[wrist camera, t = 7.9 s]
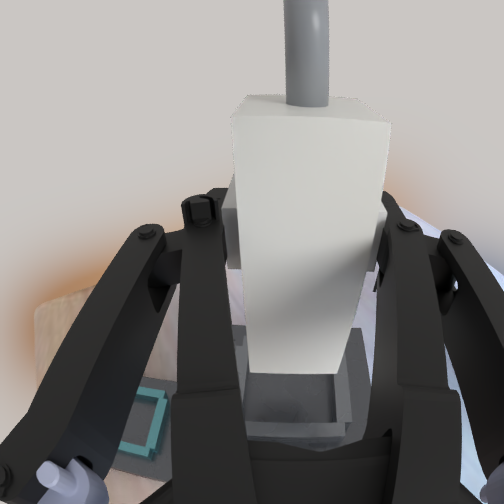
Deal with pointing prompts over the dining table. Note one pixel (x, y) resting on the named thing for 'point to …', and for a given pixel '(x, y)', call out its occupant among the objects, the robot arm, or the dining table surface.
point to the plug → (305, 205)
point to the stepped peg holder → (258, 410)
